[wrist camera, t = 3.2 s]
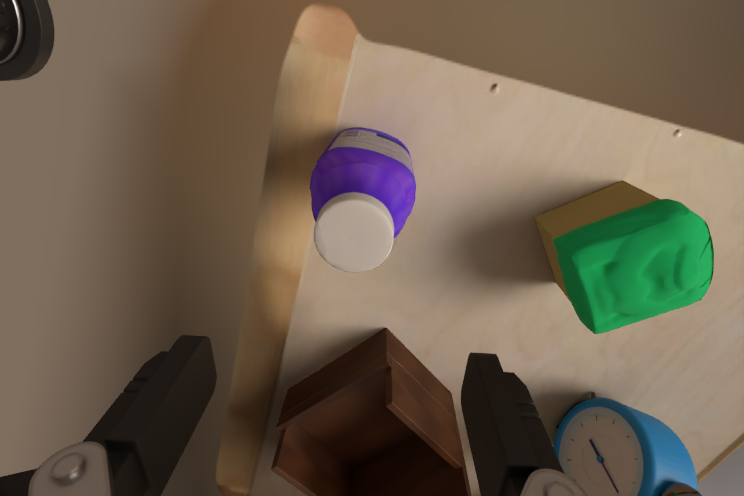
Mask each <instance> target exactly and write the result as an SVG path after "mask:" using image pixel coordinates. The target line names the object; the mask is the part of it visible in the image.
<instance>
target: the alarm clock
mask: <svg viewBox="0 0 744 496" xmlns="http://www.w3.org/2000/svg"><path fill="white" fill-rule="evenodd" d="M557 428H558V430H557V433H556V436H555V440H554V446H553V449H554V451H555V453H556V455H557V458H558V460H559V462H560V465H561V467H562V469H563V471H564V473H565V474H566V475H567V476H569V477H570V478H572V479H573V480H574V481H575V482H577V483H578V484H579V485H580V486H581V487H582V488H583V490H584V491H585V492H586V494H587V495H588V496H702V495H701V494H700V493H699V492H698V491H697V478H696V473H695V469H694V466H693V463H692V460H691V457H690V455H689V453H688V451H687V449H686V448H685V446H684V444H683V443H682V441H681V440H680V439H679V437H678V436H677V435H676V434H675V433H674V432H673V431H672V430H671V429H670V428H669V427H668V426H667V425H665V424H664V423H662V422H661V421H660V420H658V419H656V418H654V417H652V416H650V415H647V414H645V413H643V412H640V411H638V410H636V409H633V408H631V407H628V406H626V405H624V404H621V403H619V402H617V401H614V400H610V399H605V398H596V396H595V393H594V392H592V393H591V399H589V400H586V401H583V402H581V403H579V404H577V405H576V406H575V407H573V408H572V409H571V410H570V411H569V412H568V413H567V414H566V416H565V417H564V418H563V420H562V422H561V424H560V425H559V426H557Z"/></svg>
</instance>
